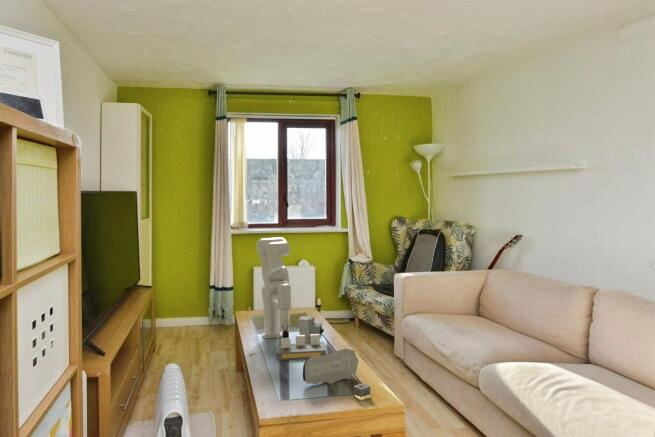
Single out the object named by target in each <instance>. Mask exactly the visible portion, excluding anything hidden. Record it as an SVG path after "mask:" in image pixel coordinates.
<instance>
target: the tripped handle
mask: <svg viewBox="0 0 655 437" xmlns="http://www.w3.org/2000/svg"><path fill="white" fill-rule="evenodd" d="M291 344H292V342H291V337H289V338H283V337H280V345H281V348H291Z"/></svg>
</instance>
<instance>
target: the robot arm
mask: <svg viewBox="0 0 655 437" xmlns="http://www.w3.org/2000/svg"><path fill="white" fill-rule="evenodd" d="M256 251H257V254H258V256H259V257H258V258H259V259H260V263H261V264H260V265H261V273H262V274H261V275H262V280H263V284H264V285H263V287H262V288H261V296H262V298H261V299H262V304H263V324H264V327H263V328H264V329H263V330H264V332H263V333H261V337H262V338H264V339H270V340H271V339H278V338H290V337H289V336H290V335H289V328H290V320H291V319H290V310H291V309H292V287H291V286H292V285H291V284H290V277H289V275H290V274H289V270H288V268H287V267H286V266H285V265H284V261H283V257H285V256H289V255H290V253H291V247H290V244H289V242H288V241H287V240H286V239H285V238H284V237H269V238H267V237H265V238H260V239H258V240H257V241H256ZM276 301H277V302H276ZM281 329H282V331H281Z"/></svg>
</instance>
